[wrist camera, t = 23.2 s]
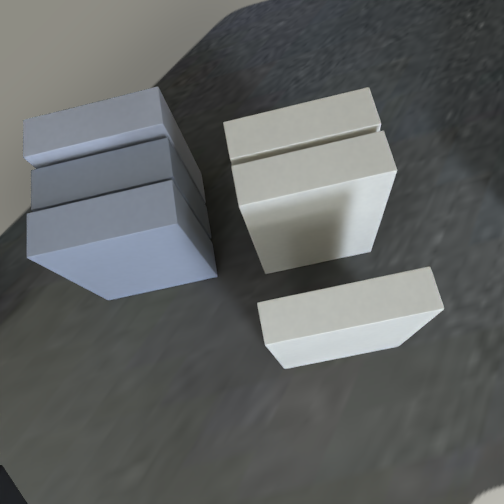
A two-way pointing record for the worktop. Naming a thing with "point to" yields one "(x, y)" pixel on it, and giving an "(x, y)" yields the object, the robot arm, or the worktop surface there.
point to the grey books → (117, 197)
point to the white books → (311, 179)
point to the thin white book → (349, 317)
